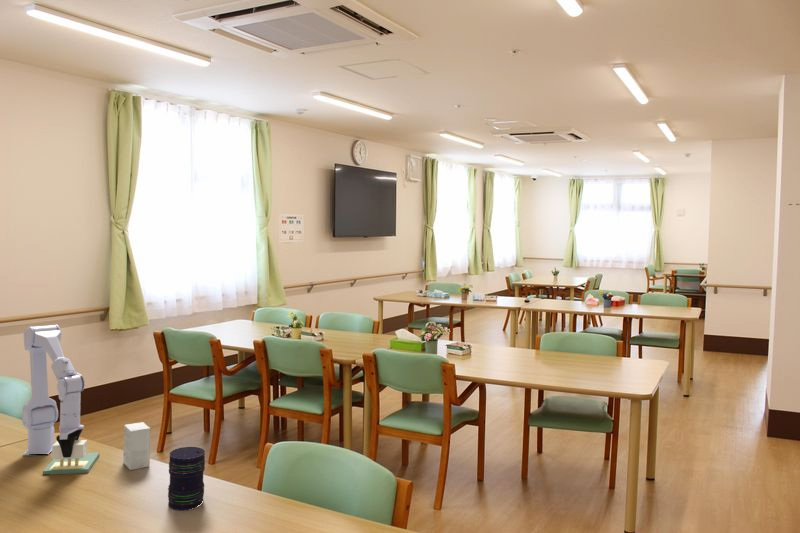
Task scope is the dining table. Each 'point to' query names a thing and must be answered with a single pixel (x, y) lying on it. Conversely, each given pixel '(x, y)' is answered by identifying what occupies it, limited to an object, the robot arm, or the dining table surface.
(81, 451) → the block
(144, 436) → the small box
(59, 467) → the board
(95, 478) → the dining table surface
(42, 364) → the robot arm
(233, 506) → the dining table surface
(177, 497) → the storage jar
